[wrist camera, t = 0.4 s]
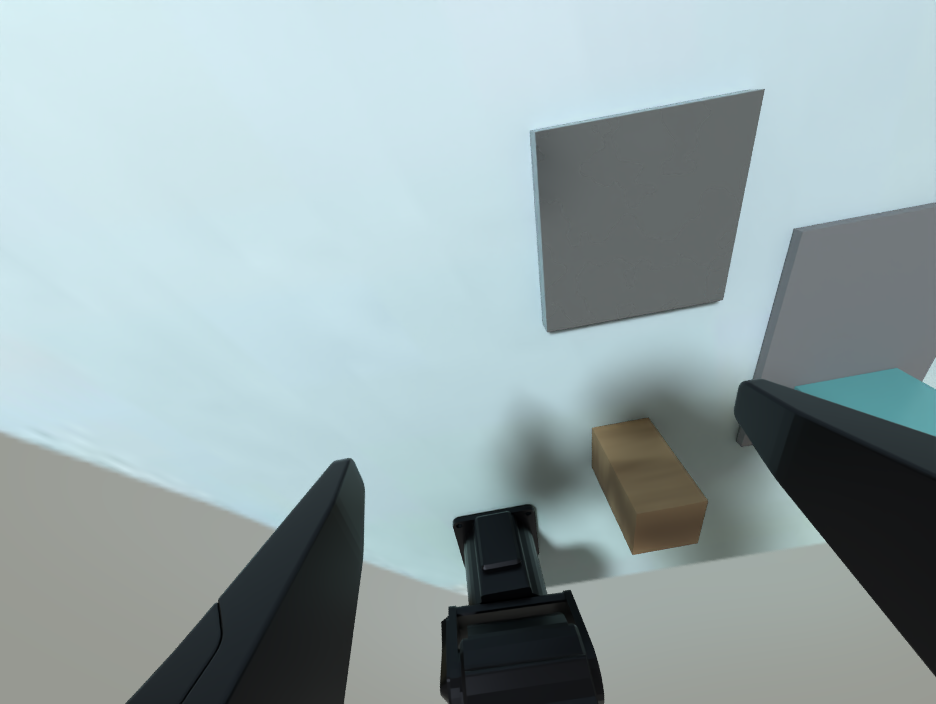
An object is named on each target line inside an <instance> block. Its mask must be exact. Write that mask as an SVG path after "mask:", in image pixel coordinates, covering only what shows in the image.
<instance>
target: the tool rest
mask: <svg viewBox="0 0 936 704" xmlns="http://www.w3.org/2000/svg"><path fill="white" fill-rule="evenodd" d="M764 90H765V89H757V90H745V91H740V92H735V93H729V94H724V95H719V96H713V97H708V98H703V99H697V100H692V101H687V102H681V103H676V104H670V105H665V106H660V107H654V108H649V109H644V110H638V111H633V112H628V113H622V114H617V115H612V116H606V117H601V118H595V119H590V120H585V121H579V122H574V123H569V124H563V125H558V126H553V127H547V128H542V129H537V130H531V131H530V141H531V156H532V171H533V186H534V201H535V216H536V231H537V246H538V261H539V276H540V291H541V306H542V321H543V326H544V327H545V329H546V331H547V332H551V331H557V330H562V329H568V328H573V327H579V326H584V325H589V324H595V323H600V322H606V321H611V320H617V319H622V318H627V317H633V316H638V315H644V314H649V313H655V312H660V311H665V310H671V309H676V308H682V307H687V306H693V305H698V304H703V303H709V302H714V301H720V300H723V297H724V292H725V287H726V282H727V277H728V272H729V267H730V262H731V257H732V252H733V247H734V242H735V237H736V232H737V226H738V221H739V216H740V211H741V206H742V201H743V196H744V191H745V186H746V181H747V176H748V171H749V166H750V161H751V156H752V151H753V146H754V141H755V136H756V130H757V125H758V120H759V115H760V110H761V105H762V100H763V95H764Z"/></svg>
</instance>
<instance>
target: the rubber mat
mask: <svg viewBox="0 0 936 704" xmlns="http://www.w3.org/2000/svg"><path fill="white" fill-rule="evenodd" d="M935 357H936V203H931V204H926V205H920V206H915V207H909V208H904V209H899V210H893V211H888V212H882V213H877V214H872V215H866V216H861V217H855V218H850V219H845V220H839V221H834V222H828V223H823V224H817V225H812V226H807V227H801V228H796V229H794V231H793V235H792V239H791V242H790V246H789V250H788V253H787V257H786V260H785V264H784V268H783V271H782V275H781V279H780V282H779V286H778V290H777V293H776V297H775V301H774V304H773V308H772V312H771V315H770V319H769V323H768V326H767V330H766V334H765V337H764V341H763V345H762V348H761V352H760V356H759V359H758V363H757V367H756V370H755V374H754V378H753V379H765V380H768V381H771V382H774V383H777V384H780V385H783V386H786V387H789V388H792V389H794V388H795V386H800V385H806V384H811V383H817V382H822V381H828V380H833V379H838V378H844V377H849V376H855V375H860V374H866V373H871V372H877V371H882V370H888V369H893V368H898V369H900V370H902V371H903V372H905V373H907V374H909V375H911V376H912V377H914V378H916V379H918V380H920V381H921V382H922V381H923V379H924V377H925V375H926V373H927V372H928V370H929V368H930V366H931V364H932V363H933V361H934V359H935ZM736 441H737V442H738V444H739V445H740V446H741V447H743V446H749V445H753V444H752V443H751V441H750V440H749V438H748V437H747V435H746V434H745V432H744V431H743V429H742V428H741V426H740V429H739V433H738V436H737V440H736Z"/></svg>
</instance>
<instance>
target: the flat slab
mask: <svg viewBox="0 0 936 704" xmlns="http://www.w3.org/2000/svg"><path fill="white" fill-rule="evenodd" d="M794 389H795V390H798V391H801V392H804V393H807V394H810V395H813V396H816V397H819V398H822V399H825V400H828V401H831V402H834V403H837V404H840V405H843V406H846V407H849V408H852V409H855V410H858V411H861V412H864V413H867V414H870V415H873V416H876V417H879V418H882V419H885V420H888V421H891V422H894V423H897V424H900V425H903V426H906V427H909V428H912V429H915V430H918V431H921V432H924V433H927V434H930V435H933V436H936V389H934V388H932V387H930V386H929V385H927V384H925V383H923V382H921V381H920V380H918V379H916V378H914V377H912V376H911V375H909V374H907V373H905V372H903V371H902V370H900V369H898V368H893V369H888V370H882V371H877V372H871V373H866V374H860V375H855V376H849V377H844V378H838V379H833V380H828V381H822V382H817V383H811V384H806V385H800V386H795V388H794Z"/></svg>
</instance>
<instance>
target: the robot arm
mask: <svg viewBox="0 0 936 704" xmlns="http://www.w3.org/2000/svg"><path fill="white" fill-rule="evenodd" d="M734 415H735V418H736V420H737V422H738V423H739V425H740V426H741V428H742V429H743V431H744V432H745V434H746V435H747V437H748V438H749V440H750V441H751V443H752V444H753V446H754V447H755V449H756V450H757V452H758V454H759V455H760V457H761V458H762V460H763V461H764V463H765V464H766V466H767V467H768V469H769V470H770V472H771V473H772V474H773V476H774V477H775V479H776V480H777V481H778V482H779V484H780V485H781V486H782V488H783V489H784V490H785V491H786V493H787V494H788V495H789V496H790V497H791V499H792V500H793V501H794V502H795V504H796V505H797V506H798V507H799V509H800V510H801V511H802V512H803V514H804V515H805V516H806V517H807V518H808V520H809V521H810V522H811V523H812V525H813V526H814V527H815V528H816V530H817V531H818V532H819V533H820V535H821V536H822V537H823V538H824V539H825V541H826V542H827V543H828V544H829V546H830V547H831V548H832V549H833V551H834V552H835V553H836V554H837V556H838V557H839V558H840V559H841V560H842V562H843V563H844V564H845V565H846V567H847V568H848V569H849V570H850V572H851V573H852V574H853V575H854V577H855V578H856V579H857V580H858V581H859V583H860V584H861V585H862V586H863V588H864V589H865V590H866V591H867V593H868V594H869V595H870V596H871V597H872V599H873V600H874V601H875V603H876V604H877V605H878V606H879V607H880V609H881V610H882V611H883V612H884V613H885V615H886V616H887V617H888V618H889V620H890V621H891V622H892V624H893V625H894V626H895V627H896V628H897V630H898V631H899V632H900V633H901V635H902V636H903V637H904V638H905V640H906V641H907V642H908V643H909V645H910V646H911V647H912V648H913V649H914V651H915V652H916V653H917V654H918V656H919V657H920V658H921V659H922V660H923V662H924V663H925V664H926V666H927V667H928V668H929V669H930V670H931V672H932V673H933V674H934V675H935V676H936V436H933V435H930V434H927V433H924V432H921V431H918V430H915V429H912V428H909V427H906V426H903V425H900V424H897V423H894V422H891V421H888V420H885V419H882V418H879V417H876V416H873V415H870V414H867V413H864V412H861V411H858V410H855V409H852V408H849V407H846V406H843V405H840V404H837V403H834V402H831V401H828V400H825V399H822V398H819V397H816V396H813V395H810V394H807V393H804V392H801V391H798V390H795V389H792V388H789V387H786V386H783V385H780V384H777V383H774V382H771V381H768V380H765V379H753V380H748V381H744V382H742V383H741V384H740V385H739V388H738V392H737V397H736V402H735V406H734ZM364 509H365V487H364V483H363V480H362V478H361V476H360V473H359V471H358V469H357V467H356V464H355V462H354V461H353V460H352V459H351V458H346V459H341V460H336V461H334V462H333V463H332V464H331V465H330V466H329V467H328V468H327V469H326V471H325V472H324V473H323V474H322V475H321V477H320V478H319V479H318V480H317V481H316V483H315V484H314V485H313V486H312V487H311V489H310V490H309V491H308V492H307V493H306V495H305V496H304V497H303V498H302V499H301V501H300V502H299V503H298V504H297V505H296V507H295V508H294V509H293V510H292V511H291V513H290V514H289V515H288V516H287V517H286V519H285V520H284V521H283V522H282V523H281V525H280V526H279V527H278V528H277V529H276V531H275V532H274V533H273V534H272V535H271V537H270V538H269V539H268V540H267V541H266V543H265V544H264V545H263V546H262V547H261V549H260V550H259V551H258V552H257V553H256V555H255V556H254V557H253V558H252V559H251V561H250V562H249V563H248V564H247V565H246V567H245V568H244V569H243V570H242V571H241V573H240V574H239V575H238V576H237V577H236V579H235V580H234V581H233V582H232V584H230V586H229V587H228V588H227V589H226V590H225V592H224V593H223V594H222V595H221V596H220V598H219V600H218V603H215V604H214V605H213V606H212V607H211V608H210V610H209V611H208V612H207V613H206V614H205V616H204V617H203V618H202V619H201V620H200V621H199V623H198V624H197V625H196V626H195V627H194V628H193V630H192V631H191V632H190V633H189V634H188V635H187V636H186V638H185V639H184V640H183V641H182V642H181V644H180V645H179V646H178V647H177V648H176V650H175V651H174V652H173V653H172V654H171V655H170V656H169V657H168V658H167V659H166V660H165V661H164V662H163V664H162V665H161V666H160V667H159V668H158V669H157V670H156V671H155V672H154V673H153V674H152V676H151V677H150V678H149V679H148V680H147V681H146V682H145V683H144V684H143V685H142V686H141V688H140V689H139V690H138V691H137V692H136V693H135V694H134V695H133V696H132V697H131V698H130V699H129V700H128V701H127V702H126V704H344V698H345V690H346V682H347V675H348V667H349V660H350V653H351V646H352V638H353V630H354V623H355V616H356V608H357V600H358V593H359V586H360V578H361V571H362V563H363V550H364ZM453 529H454V532H455V536H456V539H457V542H458V546H459V549H460V553H461V556H462V560H463V563H464V566H465V568H466V579H467V590H468V601H469V605H468V606H461V607H456V606H450V607H449V616H448V617H447V618H446V619H444V620H443V621H442V622H441V624H442V625H441V627H442V661H441V676H440V693H441V696H442V697H443V698H444V699H445V700H446V701H447V703H448V704H604V689H603V683H602V677H601V673H600V668H599V664H598V661H597V657H596V654H595V651H594V648H593V645H592V642H591V640H590V637H589V635H588V632H587V630H586V627H585V625H584V622H583V620H582V617H581V615H580V612H579V610H578V607H577V605H576V602H575V600H574V597H573V595H572V592H571V590H566V591H563V592H562V593H555V594H547V591H546V587H545V583H544V579H543V575H542V571H541V567H540V563H539V559H538V554H539V547H538V538H537V529H536V520H535V512H534V508H533V506H531V505H525V506H520V507H514V508H509V509H503V510H498V511H492V512H487V513H482V514H476V515H471V516H465V517H460V518H456V519H454V520H453Z"/></svg>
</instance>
